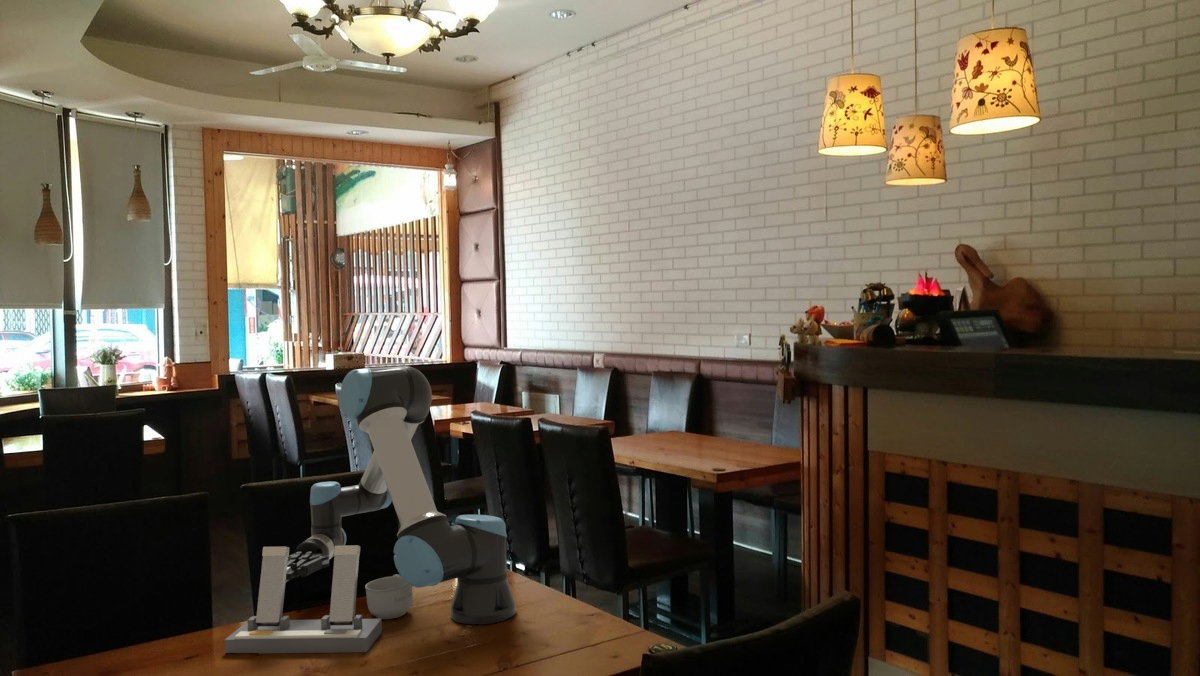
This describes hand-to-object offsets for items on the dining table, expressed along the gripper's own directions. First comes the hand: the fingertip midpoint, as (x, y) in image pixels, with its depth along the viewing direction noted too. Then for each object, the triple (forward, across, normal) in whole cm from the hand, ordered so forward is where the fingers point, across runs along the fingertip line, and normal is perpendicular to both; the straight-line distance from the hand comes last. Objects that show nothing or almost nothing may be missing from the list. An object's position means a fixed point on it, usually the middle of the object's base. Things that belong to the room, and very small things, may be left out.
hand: (276, 581), depth 198 cm
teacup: (-14, -22, -12) cm, 29 cm away
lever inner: (+5, -16, -8) cm, 19 cm away
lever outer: (+5, 0, -8) cm, 9 cm away
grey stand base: (+5, -8, -12) cm, 15 cm away
